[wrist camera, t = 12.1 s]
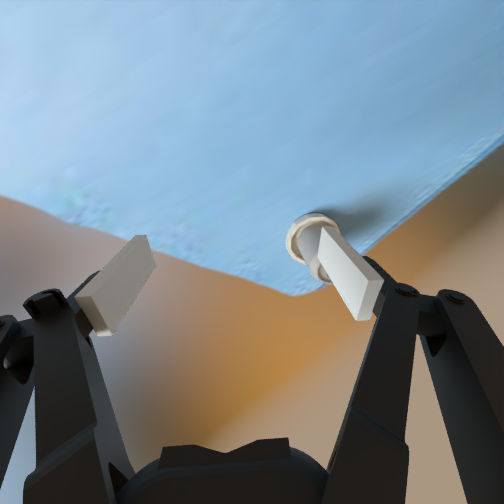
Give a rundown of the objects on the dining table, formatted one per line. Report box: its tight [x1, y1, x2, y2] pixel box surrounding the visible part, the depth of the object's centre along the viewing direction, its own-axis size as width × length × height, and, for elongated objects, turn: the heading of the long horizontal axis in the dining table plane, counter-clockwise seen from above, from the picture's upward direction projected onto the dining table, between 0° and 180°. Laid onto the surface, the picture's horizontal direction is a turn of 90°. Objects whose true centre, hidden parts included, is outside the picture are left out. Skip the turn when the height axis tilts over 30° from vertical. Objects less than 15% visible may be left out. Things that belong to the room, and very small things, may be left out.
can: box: [297, 224, 333, 284], centre depth 40 cm, size 8×8×12 cm
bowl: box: [286, 213, 341, 264], centre depth 45 cm, size 11×11×2 cm
